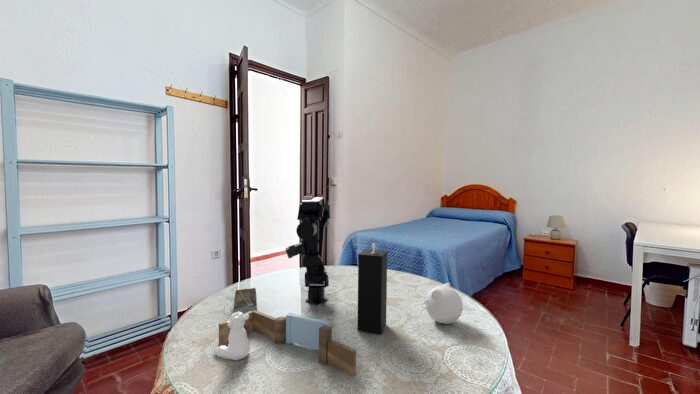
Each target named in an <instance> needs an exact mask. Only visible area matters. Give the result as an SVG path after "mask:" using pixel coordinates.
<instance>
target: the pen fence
mask: <svg viewBox="0 0 700 394" xmlns="http://www.w3.org/2000/svg"><path fill="white" fill-rule="evenodd" d="M246 314H249V318H248V319H247V320H245V324H244V326H243V327H244V329H245V330H246V333H247V334H249V333H250V332H255V333H257V334H260V335H262V336H265V337H267V338H270V339H271V340H273V341H274V343H275V344H278V345H280V344H285V343H286V316H277V317H274V316H272V315H269V314H266V313H264V312H260V311H258V310H257V311H256V310H255V311H249V312H247V313H244V314H243V315H246ZM227 321H228V319H227V320H225V321H222V322H219V323H218V345H219V346H220V345H222V346H224V345H225V344H227V343H229V340H228V337H229V333H230V330H231V329H230V328H229V326H228V325H227V324H228V323H227ZM318 363H320V364H323V365H325V366H326V365H327V366H330V367H331V368H332V367H333V368H334V369H336V370H338V371H341V372H343V373H345V374H347V375H350V376H355V375H356V373H357V349H356V348H352V347H351V346H348V345H345V344H342V343H339V342H337V341H335V340H333V327H332V326H330V325H329V326H327V325H324V326H322V327H320V328H319V350H318Z"/></svg>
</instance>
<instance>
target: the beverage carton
mask: <svg viewBox="0 0 700 394" xmlns="http://www.w3.org/2000/svg"><path fill="white" fill-rule="evenodd" d="M256 289H257V288H256V287H253V288H244V289H235V293H234V300H233V314H234V313H236V312H242V313H243V314H244V313H247V312H249V311H255V310H256V311H258V304H257V301H258V300H257V290H256Z"/></svg>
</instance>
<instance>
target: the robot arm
mask: <svg viewBox="0 0 700 394" xmlns="http://www.w3.org/2000/svg"><path fill="white" fill-rule="evenodd" d="M331 212H332V211H331V205H330V204H328V203H327V201H326V198H324V197H318V196H317V197H315V196H314V197H313V198H312V199H309V200H307V199H306V200H304V199H303V200H302V201H301V203H299V207H298V213H297V218H296V219H297V221H301V222H300V223H299V224H298V225H297V227H296V229H295V230H296V234H297V237H298V238H300V241H301V242H299V243H296V244H292V245H288V246H287V247H286V248H285V253H286V255H287V258H288V259H293V257H295V256H298V255H300V257H301V266H304V267H305V268H306V271H305V272H304V287H305V288H308V290H307V298H306V299H305V302H307V303H311V304H313V305H320V304H322V303H324V302H326V301H328V298H327V297H325V289H326V288H327V287H329V285H330V280H329V275H328V273H327V270H326V267H325V265H324V262H323V259H324V258H323V257H324V245H325V244H324V242H325V229H326V228H327V226H328V225H329V224H330V223H329V221H330V219H331V216H332V215H331Z"/></svg>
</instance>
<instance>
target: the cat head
mask: <svg viewBox="0 0 700 394" xmlns="http://www.w3.org/2000/svg"><path fill="white" fill-rule="evenodd" d="M423 305H424V308H423V309H422V310H421V311H420V313H422V312H423V311H424V310H425V309H426V312H427V314H428V315H429V317H430V318H432V320H434V321H435V322H437V323H439V324H442V323H443V325H449V324H452V323H454V322H456V321H458V320H459V319H460V317H461V316H462V313H463V311H464V304H463V300H462V298H461V295H460V294H459V293H458V292H457V291H456V290H455V289H454V288H452V287H451V283H450V282H447V283H444V284H442V285H438V286H435V287H433V288H432V289H430V291H428V293H427V294H426V296H425V301H424V302H423V303H422V304H421V306H423Z"/></svg>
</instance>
